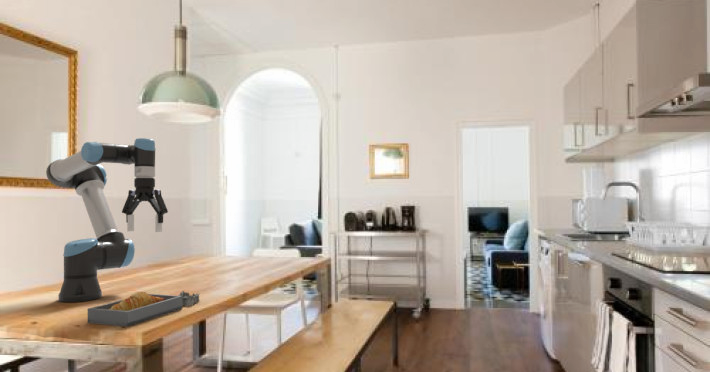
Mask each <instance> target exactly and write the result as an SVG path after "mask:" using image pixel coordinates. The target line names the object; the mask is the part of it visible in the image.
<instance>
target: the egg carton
mask: <svg viewBox="0 0 710 372" xmlns="http://www.w3.org/2000/svg"><path fill="white" fill-rule="evenodd" d="M177 296H182V306H186V307H189V306H193V305H194V304H196V303H197V302H199V301H200V293H192V295H190V293H189V292H186V291H185V290H183V291H180V293H179V294H178V295H177Z"/></svg>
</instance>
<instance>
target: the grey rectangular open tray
mask: <svg viewBox="0 0 710 372" xmlns="http://www.w3.org/2000/svg"><path fill="white" fill-rule="evenodd" d="M147 294H148V295H152V296H154V297H160V298H165V300H164V301H161V302H157V303H154V304H150V305H147V306H144V307H140V308H137V309H133V310H130V311H120V310H108V309H110V308H111V307H112V306H113V305H115V304H118V303H120V302H121V301H122V300H124V299H125V298H124V299H119V300H117V301H113V302H109V303H105V304H101V305H97V306H92V307H89V308H88V307H87V324H95V325H107V326H117V327H131V326H134V325H137V324H139V323H144V322H146V321H149V320H151V319H152V320H153V319H155V318H158V317H161V316H165V315H167V314H170V313H173V312H177V311H180V310H182V309H183V305H182V296H178V295H175V294H174V295H172V294H156V293H147Z"/></svg>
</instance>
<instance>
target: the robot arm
mask: <svg viewBox="0 0 710 372" xmlns="http://www.w3.org/2000/svg"><path fill="white" fill-rule="evenodd" d="M103 163H105V164H106V163H109V164H110V163H111V164H122V165H133V164H134V177H135V178H133V179H134V181H133V182H134V183H133V185H134V188H135V189H130V190H128V195H127V198H126V199H125V202H124V205H123V208H122V210H121V213H122V214H125V216H126V217H125V218H126V219H125V220H126V223H127V226H126V227H127V232H135V214H134V212H135V210H136V209H137V208H138V206H139V205H140V203H142V202H148V203H149V204H150V206H151V207H152V208H153V209H154V211H155V212H156V214H155V219H154V220H155V221H154V222H155V233H159V232H162V231H163V227H162V226H163V224H164V215H165V214H168V212H169V211H168V208H167V205H166V203H165V201H164V198H163V196H162V190H161V189H155V188H156V179H155V177H156V141H155V139H152V138H146V137H145V138H142V137H141V138H139V137H138V138H136V139H135V140H134V144H131V145H130V144H129V145H127V144H117V143H107V142H98V141H87V142H84V144H83V145H82V146H81V149H80V151H77V152H75V153H74V154H72V155H70V156H67V157H65V158H63V159H62V158H61V159H56V160H54V161H52V162H51V163H50V164H49V165H47V167H46V171H45V173H46V178H47V180H48V181H49V182H50V183H51V184H52V185H54V186H56V187H57V188H63V189H74V190H75V193H76V195H78V196H81V198H82V201H83V203H84V206H85V208H86V209H85V210H86V212H87V214H88V218H89V220H90V223H91V226H92V228H93V232H94V234H95V237H96V238H95V237H94V238H93V237H92V238H84V239H83V238H81V239H77V240H72V241H68V242H67V243H66V244H65V245H64V247H63V255H62V256H63V281H62V284H61V288H60V291H59V293H58V298H57V299H58V302H62V303H78V302H87V301H93V300H94V301H95V300H98V299H100V298H102V297H103V296H102V295H103V291H102V289H101V286H100V283H99V280H98V271H102V270H110V269H117V268H118V269H120V268H125V267H128V266H129V265H130V264H131V263H132V262H133V260H134V257H135V251H136V250H135V249H136V248H135V244H134V241H133V239H130V238H126V237H125V235H124V233H123V232H122V231H119V230H118V227H117V225H116V222H115V219H114V217H113V215H112V212H111V209H110V206H109V204H108V201H107V198H106V196H105V193H104V189H105V186H106V184H107V179H108V178H107V172H106V170H105V167H103V165H101V164H103Z"/></svg>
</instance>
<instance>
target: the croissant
mask: <svg viewBox="0 0 710 372" xmlns="http://www.w3.org/2000/svg"><path fill="white" fill-rule="evenodd" d="M148 294H149V293H147V292H144V291H138V292H137V291H136V292H135V293H134V294H131V295H130V296H129V297H126V298H124V300H123V299H121V300H122V301H121V302H120V303H118V304H115V305H113V306H112V307H111V308H110V309H108V310H120V311H130V310H133V309H137V308H140V307H144V306H147V305H150V304H154V303H157V302H161V301H164V300H165V298H160V297H154V296H152V295H148Z"/></svg>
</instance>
